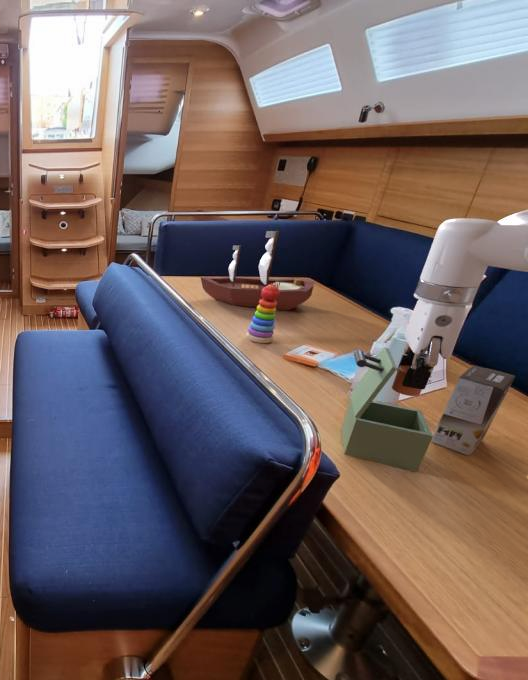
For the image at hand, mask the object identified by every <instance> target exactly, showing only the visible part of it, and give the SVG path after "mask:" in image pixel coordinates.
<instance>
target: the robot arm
mask: <svg viewBox="0 0 528 680" xmlns="http://www.w3.org/2000/svg"><path fill="white" fill-rule="evenodd" d="M488 267H494V268H500V269H506V270H511V271H517V272H525V273H528V209H525V210H522V211H519V212H516V213H513V214H510V215H508V216H505V217H504V218H502V219H500V220H498V221H495V220H493V219H492V220H491V219H483V218H472V217H466V218H465V217H464V218H462V217H461V218H459V217H458V218H451V219H447V220H444V221H443V222H442V223H441V224H439V226H438V228H437V230H436V233H435V235H434V238H433V241H432V243H431V246H430V249H429V252H428V255H427V258H426V261H425V263H424V266H423V268H422V270H421V273H420V276H419V279H418V283H417V285H416V288H415V290H414V293H413V297H414V298H415V299H416V300H417V301H416V304H415V306H414V308H413V311H412V313H411V315H410V317H409V321H408V324H407V327H406V330H405V335H404V337H405V340H406V342H407V344H406V346H405V348H404V350H403V354H402V355H401V358H400V361H399V364H398V366H397V370H396V372H397V371H398V369H399V367H400V366H411V367H408V369H407V372H406V374H405V377H404V380H403V382H402V385H403V386H405V387H410V388H416V389H422V390H425V389H426V387H427V385H428V382H429V379H430V378H431V374H432V373H433V371H434V368H435V367H436V366H437V365H438V364H439V356H440V357H441V358H442V359H443V360H448V359H450V358H451V357H452V354H453V351H454V349H455V346H456V344H457V340H458V338H459V335H460V332H461V328H462V325H463V322H464V319H465V315H466V310H467V306H471V305H472V304H473V302H474V300H475V297H476V295H477V292H478V290H479V288H480V285H481V283H482V281H483V278H484V276H485V274H486V272H487V269H488ZM422 390H421V391H422Z"/></svg>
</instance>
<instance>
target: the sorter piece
mask: <svg viewBox="0 0 528 680" xmlns="http://www.w3.org/2000/svg"><path fill="white" fill-rule="evenodd" d="M408 367H411V366H400V367H399V369H398V368H397V369H398V371H397V370H396V374H395V377H394V380H393V382H392V385H391V389H392V391H394V392H396V393H397V394H399V395H400V394H401V395H404V396H408V397H418V396H420V395H421V392H422V389H416V388H410V387H405V386H403V385H402V382H403V380H404V377H405V374H406V372H407V369H408Z"/></svg>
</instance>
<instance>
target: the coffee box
mask: <svg viewBox="0 0 528 680" xmlns="http://www.w3.org/2000/svg"><path fill="white" fill-rule="evenodd" d="M515 379H516V375H514V374H510V373H507V372H503V371H499V370H496V369H492V368H487V367H482V366H479V365H474V364H473V365H471V366H470V367H469V368H468V369H467V370H465V371H464V372H463V373H461V375H459V377H458V380H457V382H456V384H455V386H454V389H453V391H452V393H451V395H450V397H449V399H448V402H447V404H446V406H445V408H444V411H443V413H442V415H441V417H440V419H439V421H438V423H437V426H436V428H435V430H434V433H432V435H433V437H432V440H431V442H432V443H434V444H437V445H439V446H442V447H444V448H447V449H448V450H452V451H454V452H457V453H460V454H463V455H466V456H471V455H472V454H473V452H474V451H475V450H476V449H477V447H479V445H480V444H481V442H482V441H483V440H484V438H485V436H486V435H487V432H488V431H489V429H490V426H491V425H492V424H493V421H494V419H495V417H496V415H497V413H498V411H499V409H500V407H501V406H502V404H503V402H504V400H505V397H506V396H507V394H508V392H509V391H510V388H511V386H512V384H513V382H514V381H515ZM431 442H430V443H431Z"/></svg>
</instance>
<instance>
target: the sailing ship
mask: <svg viewBox="0 0 528 680" xmlns="http://www.w3.org/2000/svg"><path fill="white" fill-rule="evenodd" d="M279 232H280V231H279V230H275V231H273V230H266V232H265V238H266V239H267V238H268V241H267V242H266V244H265V246H264V247H265V250H266V252H265V253H264V254H263V255H262V257H261V259H260V260H259V264H258V271H259V277H248V276H237V273H238V272H237V271H238V265H239V261H240V254H241V248H242V245H241V244H240V245H232V250H233V251H234V252H233V254H232V259H233V260H232V261H231V263H230V264H229V266H228V275H229V276H221V277H220V276H219V277H218V276H217V277H215V276H214V277H213V276H205V277H204V276H200V282H201V285H202V289H203V290H204V293H206V294H207V295H208V296H210V297H211V298H212V299H214V300H216V301H219V302H221V303H222V302H223V303H226V304H230V305H233V306H237V307H238V306H240V307H248V308H256V309H257V306H258V305H260V304H259V301H260V300H261V299H263V298H262V296H261V292H262V290H263V288H264V287H266V286H269V285H273V286H276V287H277V288H278V289H279V291H280V294H279V297H278V298H277V299H276V300H275V301H276V302H277V305H276V306H275V308H276V311H285V312H288V311H290V310H293V309H294V308H297V307H298V306H300V305H302V304H304V303H305V302H306V301H308V300H309V299H310V298H311V297H312V295H313V290H314V286H315V280H312V279H306V278H300V277H289V278H288V277H287V278H270V275H271V270H272V265H273V261H274V256H275V251H276V246H277V242H278V237H279Z"/></svg>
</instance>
